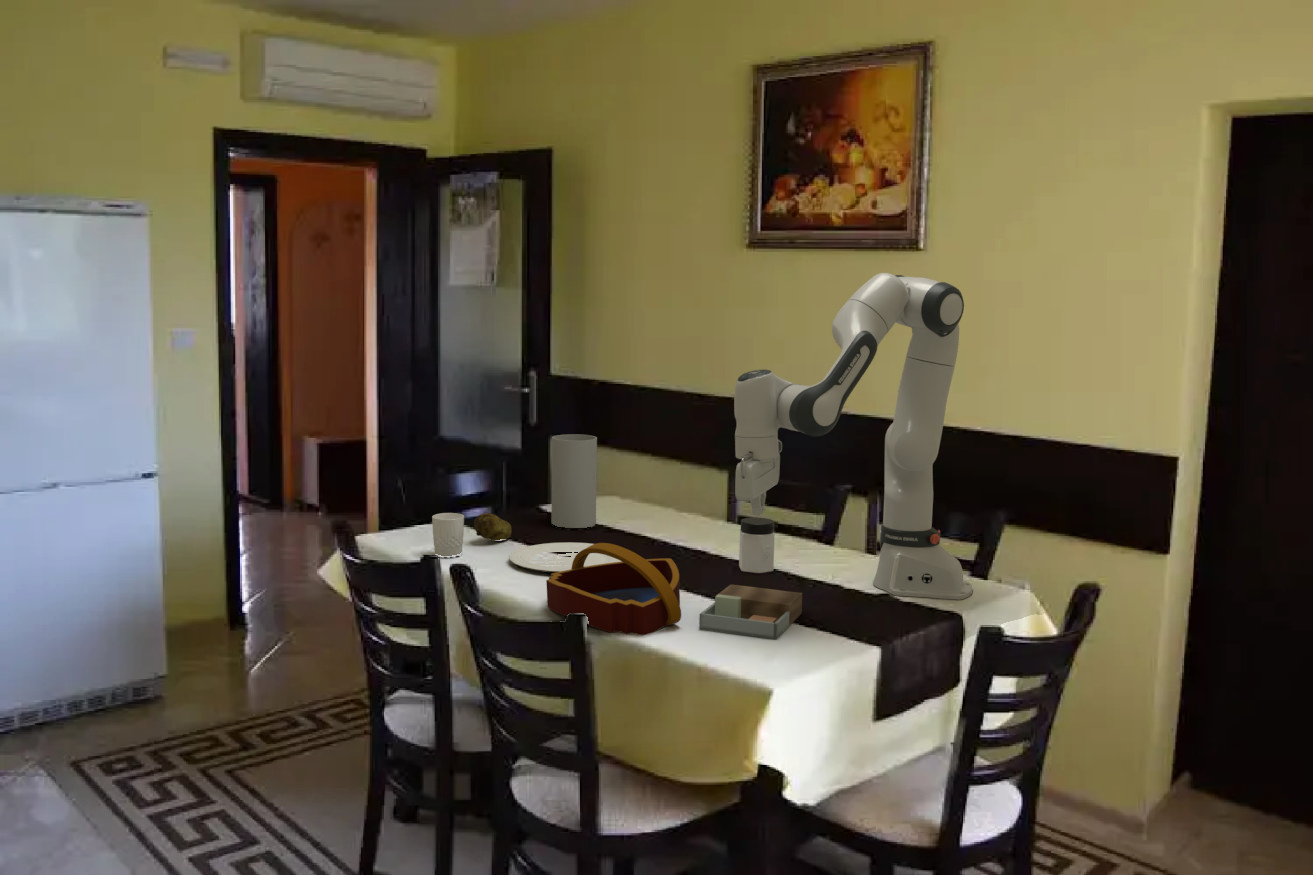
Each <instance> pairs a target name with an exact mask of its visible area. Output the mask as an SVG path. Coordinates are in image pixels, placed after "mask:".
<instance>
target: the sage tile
mask: <svg viewBox="0 0 1313 875" xmlns="http://www.w3.org/2000/svg"><path fill="white" fill-rule="evenodd" d="M716 595H717V596H716ZM716 595H715V596H714V597H715V598H714V602H715V615H719V616H726V617H734V618H741V597H736V596H728V595H720V594H719V593H718V594H716Z"/></svg>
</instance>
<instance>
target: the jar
mask: <svg viewBox="0 0 1313 875" xmlns="http://www.w3.org/2000/svg"><path fill="white" fill-rule="evenodd" d="M738 550H739V555H738V557H739V559H738V567H739V569H740V571H741V572H746V573H754V574H764V573H771V572H773V571H774V565H775V564H774V561H775V559H774V558H775V521H774V520H773V519H771V518H766V517H746V518H742V519H741V520H740V529H739V549H738Z"/></svg>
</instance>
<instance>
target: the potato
mask: <svg viewBox="0 0 1313 875" xmlns="http://www.w3.org/2000/svg"><path fill="white" fill-rule="evenodd" d="M473 524H474V531H475V532H476V533H475V534H476V536H478V537H481V538H484V539H487V540H490V539H491V541H492V540H500V539H507V538H508V539H509V538H510V537H511V535H512V525H511V524H510V522H508V521H506V520H504V519H501V518H500V517H499V516H497V515H496V514H494V513H488V512H485V513H482V514H479V515H478V516H476V517H475V519H474V521H473ZM508 539H507V540H508Z"/></svg>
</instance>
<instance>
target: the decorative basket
mask: <svg viewBox="0 0 1313 875" xmlns="http://www.w3.org/2000/svg"><path fill="white" fill-rule="evenodd" d="M592 544H593V545H591V546H589V547H587V548H586V549H584V550H582V551H580V552H579V553H578V554H577V555H576V556H575V558H574V560H573V563H572V569H570V570H565V571H561V572H557V573H550V576H549V577H548V579H546V582H545V583H546V601H547V603H546V604H547V608H548V609H550V610H551V611H553V612H555V613H557V614H559V615H563V616H566V617H568V616H567V615H568V614H569V613H584V614H586V616H587V617H588V621H589V625H588V626H590V627H593V628H597V629H599V630H601V631H606V632H609V633H615V632H619V633H622V634H626V635H628V634H632V633H633V634H636V635H641V636H646V635H649V634H652V633H654V632H657V631H659V630H660V629H662V628H664V627H667V626H671V625H674V624H677V623H679V622H680V621H681V619H682V609H681V592H680V590H681V589H680V572H679V568H678V566H677V564H676V563H675V562H674V560H673V559H672V558H647V559H645V558H644V557H642V556H641V555H639V554H637V553H636V552H634V551H632V550H630V549H627V548H625V547H623V546H620V545H617V544H614V543H608V542H607V543H606V542H598V543H592ZM590 553H599V554H604V555H607V556H610V557H613V558H615V559H618V560H620V561H622V562H613V563H606V564H599V565H592V566H586V567H584V563H585V560H586V558H587V556H588V555H589V554H590Z"/></svg>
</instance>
